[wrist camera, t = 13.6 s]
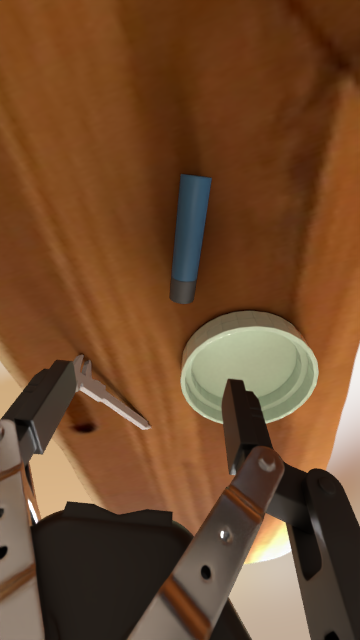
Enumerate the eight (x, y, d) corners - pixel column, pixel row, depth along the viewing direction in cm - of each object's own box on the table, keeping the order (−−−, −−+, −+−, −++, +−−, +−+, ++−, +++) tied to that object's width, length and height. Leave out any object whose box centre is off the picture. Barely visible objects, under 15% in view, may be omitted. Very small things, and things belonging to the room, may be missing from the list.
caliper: (77, 354, 41) (59, 382, 35) (82, 351, 40) (65, 379, 35) (147, 427, 49) (141, 458, 44) (152, 425, 49) (146, 457, 44)
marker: (190, 174, 28) (174, 173, 25) (216, 178, 26) (202, 176, 24) (177, 291, 35) (164, 298, 32) (198, 298, 33) (185, 306, 31)
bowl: (189, 302, 35) (189, 318, 31) (326, 317, 35) (342, 335, 31) (176, 398, 45) (174, 419, 41) (283, 409, 45) (291, 432, 41)
